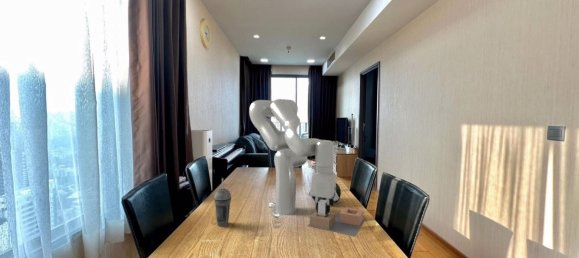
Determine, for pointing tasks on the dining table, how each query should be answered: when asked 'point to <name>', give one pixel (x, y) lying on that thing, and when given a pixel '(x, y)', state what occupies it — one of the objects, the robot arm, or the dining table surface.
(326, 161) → the robot arm
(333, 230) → the dock plate
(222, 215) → the beverage cup
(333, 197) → the squash
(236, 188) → the dining table surface
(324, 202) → the peg
